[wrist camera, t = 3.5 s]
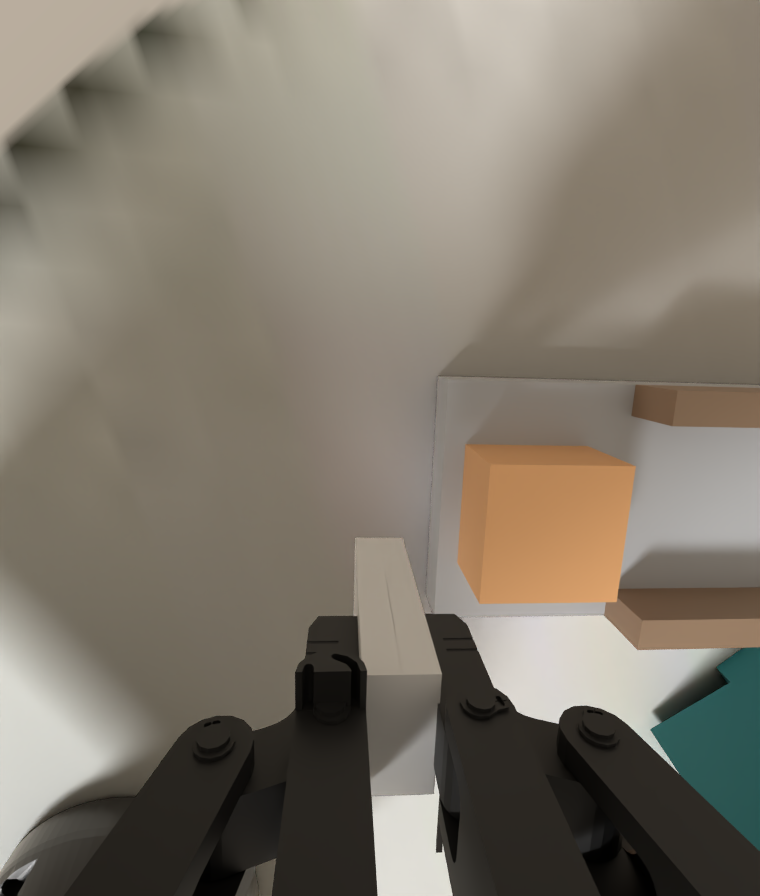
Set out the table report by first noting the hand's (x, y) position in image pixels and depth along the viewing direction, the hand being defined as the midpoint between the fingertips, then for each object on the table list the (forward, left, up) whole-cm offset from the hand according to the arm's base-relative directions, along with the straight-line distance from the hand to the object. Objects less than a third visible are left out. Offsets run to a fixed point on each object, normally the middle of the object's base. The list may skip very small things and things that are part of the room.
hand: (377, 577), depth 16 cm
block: (+8, 0, -8) cm, 11 cm away
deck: (+20, 0, -11) cm, 22 cm away
